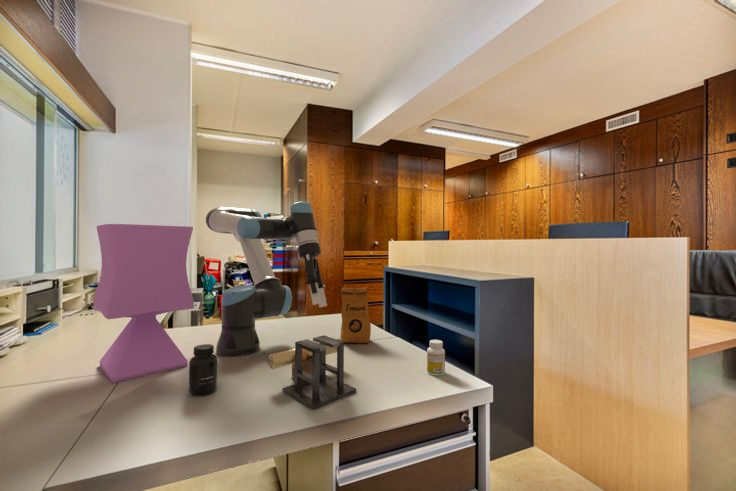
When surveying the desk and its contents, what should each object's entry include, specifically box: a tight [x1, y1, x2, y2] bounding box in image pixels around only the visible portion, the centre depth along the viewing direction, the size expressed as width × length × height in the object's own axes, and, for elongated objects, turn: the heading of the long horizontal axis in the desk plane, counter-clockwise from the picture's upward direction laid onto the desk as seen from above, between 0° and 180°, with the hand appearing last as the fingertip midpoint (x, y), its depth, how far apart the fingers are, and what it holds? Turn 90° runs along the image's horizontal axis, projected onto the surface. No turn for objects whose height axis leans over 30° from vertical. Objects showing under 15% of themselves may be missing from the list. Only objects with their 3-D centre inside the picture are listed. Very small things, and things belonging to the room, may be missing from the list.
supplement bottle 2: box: [426, 339, 446, 377], centre depth 104 cm, size 5×5×10 cm
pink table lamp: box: [93, 223, 195, 384], centre depth 109 cm, size 22×22×45 cm
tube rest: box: [291, 359, 312, 381], centre depth 101 cm, size 6×8×6 cm
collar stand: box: [282, 334, 357, 411], centre depth 90 cm, size 14×14×13 cm
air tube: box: [267, 338, 341, 370], centre depth 101 cm, size 24×4×4 cm, turn 135°
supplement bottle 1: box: [188, 343, 218, 397], centre depth 90 cm, size 7×7×12 cm
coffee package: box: [339, 287, 372, 344], centre depth 138 cm, size 10×12×22 cm
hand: (320, 305), depth 112 cm, fingers open, 13 cm apart
